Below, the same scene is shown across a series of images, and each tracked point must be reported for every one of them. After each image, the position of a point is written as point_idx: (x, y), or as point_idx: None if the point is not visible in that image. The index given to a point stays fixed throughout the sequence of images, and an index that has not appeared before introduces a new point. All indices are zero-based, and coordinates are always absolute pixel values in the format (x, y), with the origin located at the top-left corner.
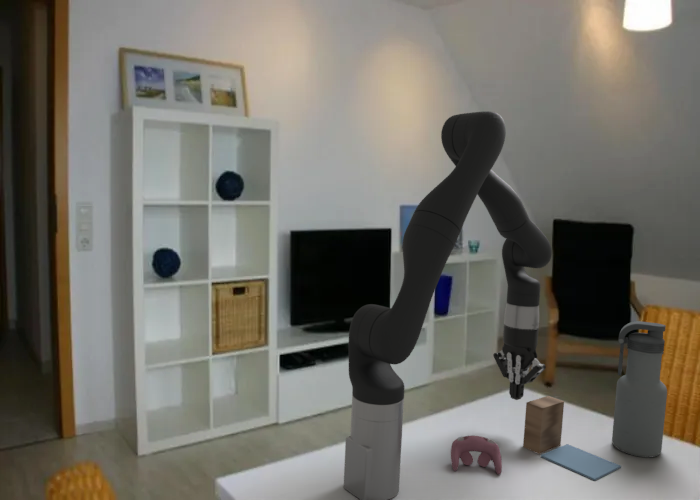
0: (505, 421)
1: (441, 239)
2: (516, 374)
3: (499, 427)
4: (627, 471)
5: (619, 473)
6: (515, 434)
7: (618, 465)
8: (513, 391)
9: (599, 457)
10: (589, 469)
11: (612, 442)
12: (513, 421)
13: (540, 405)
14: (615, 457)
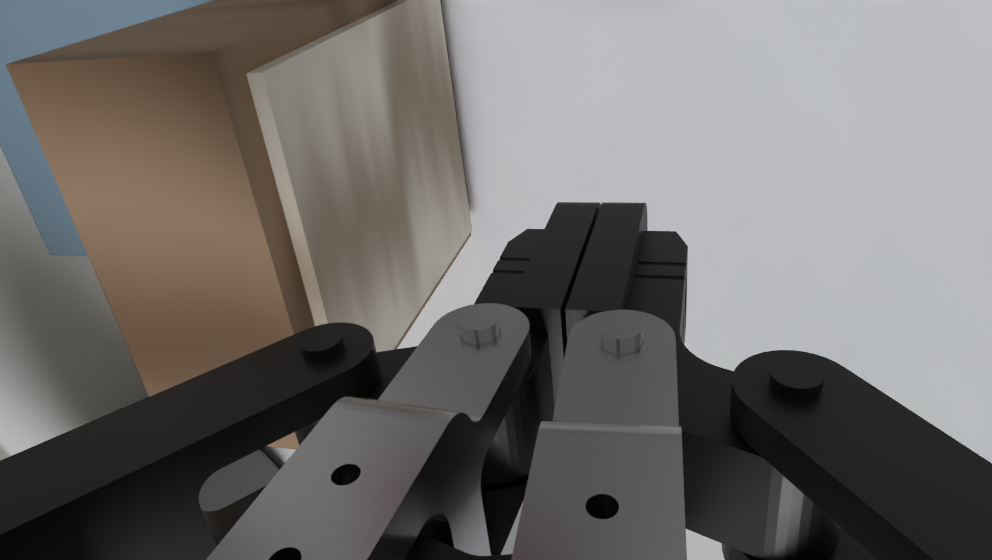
0: (857, 264)
1: None
2: (463, 414)
3: (812, 113)
4: (23, 238)
5: (7, 184)
6: (631, 114)
7: (53, 246)
8: (590, 245)
9: None
10: None
11: (261, 456)
12: (810, 314)
13: (87, 122)
14: None
